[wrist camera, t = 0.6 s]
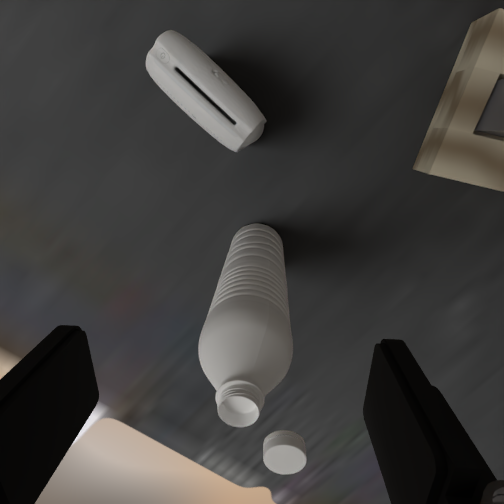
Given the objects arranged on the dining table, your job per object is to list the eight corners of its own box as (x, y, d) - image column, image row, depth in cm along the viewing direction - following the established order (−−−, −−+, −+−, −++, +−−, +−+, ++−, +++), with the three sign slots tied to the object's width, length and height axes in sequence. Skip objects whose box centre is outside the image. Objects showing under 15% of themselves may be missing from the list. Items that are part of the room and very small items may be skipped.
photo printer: (174, 85, 34) (124, 63, 22) (198, 50, 32) (159, 7, 21) (246, 152, 36) (235, 164, 24) (272, 121, 34) (273, 119, 23)
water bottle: (221, 242, 40) (152, 402, 17) (262, 212, 38) (249, 343, 15) (262, 291, 42) (252, 492, 19) (303, 265, 40) (346, 451, 17)
